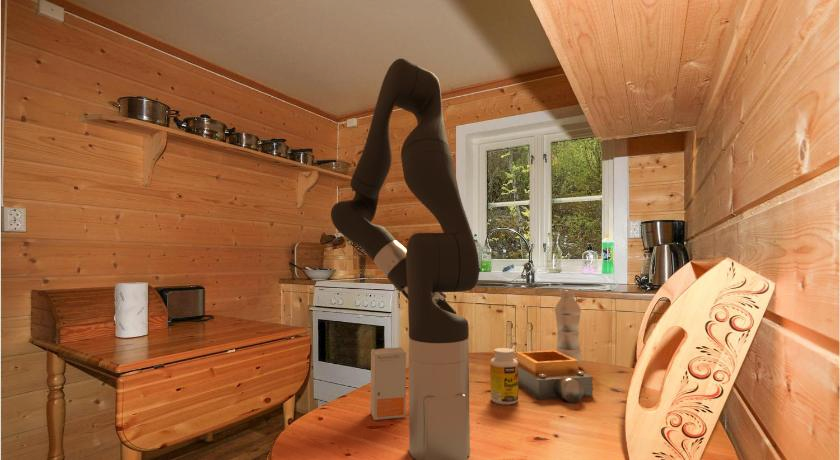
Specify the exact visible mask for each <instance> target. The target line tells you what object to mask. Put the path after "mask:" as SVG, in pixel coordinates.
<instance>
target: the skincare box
mask: <svg viewBox="0 0 840 460" xmlns="http://www.w3.org/2000/svg"><path fill="white" fill-rule="evenodd" d="M406 390H407V352H406V351H405V350H404V349H403V348H402V347H385V348H372V349H370V413H371V415H372V416H371V417H372V418H373V421H378V420H391V419H400V418H401V419H403V418H406V413H407V411H406V410H407V409H406V407H407V406H406V404H407V401H406V398H407V395H406V394H407V391H406Z"/></svg>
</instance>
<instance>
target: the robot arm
mask: <svg viewBox="0 0 840 460" xmlns="http://www.w3.org/2000/svg"><path fill="white" fill-rule="evenodd" d="M381 83H382V84H381V87H380V89H379V93H378V96H377V101H376V104H375V107H374V110H373V115H372V118H371V122H370V125H369V126H370V127H369V129H368V134H367V137H366V141H365V144H364V147H363V150H362V153H361V155H360V157H359V160H358V162H357V165H356V167H355V169H354V172H353V174H352V176H351V178H350V188H351V190H352V191H353V192H355V193H354V197H353V198H352V199H348V200H341V201H338V202H336V203H334V204H333V206H332V208H331V210H330V219H331V223H332V224H333V226H334V227H335V229H336V230H337V231H338V232H339V233H340V234H341V235H343V236H344V237H345V238H346V239H348V240H349V241H351V242H352V243H353V244H354V245H356V246H358V247H360V248H361V249H362V250H364V251H363V252H365V253H366V255H368V257H369V258H370V259H371V260H372V261H373V262H374V264H375V265H376V266H377V268H378V270H379V271H381V273H382V274H383V275H384V276H385V278H386V279H387V280H388V281H389V282H390V283H391V284H392V285H393V287H394V288H395V289H396V290H397V291H398V292H400V293H401V294H402V295H403V296H404V297H405V298H406V299H407V304H408V305H407V306H408V307H407V308H408V310H407V311H408V312H407V314H408V315H407V316H408V317H407V318H408V431H409V433H408V443H409V444H408V447H409V448H408V452H409V454H410V456H411V457H412V458H413V459H414V460H468V457H469V456H470V453H471V441H470V440H471V436H470V434H471V430H470V429H471V428H470V425H471V424H470V359H469V358H470V350H469V348H470V347H469V346H470V345H469V344H470V342H469V341H470V340H469V338H470V337H469V334H470V333H469V331H470V330H469V328H470V327H469V321H468V320H467V318H465V317H464V316H462V315H459V314H457V311H456V310H455V309H454V308H453V307H452V306H451V305H450V304H449V302H448V301H447V299H446V298H447V295H446V294H445V293H457V292H459V293H460V292H467V291H471V290H473V289H474V288H475V287H476V286H477V284H478V281H479V278H480V277H479V276H480V261H479V253H478V249H477V245H476V241H475V238H474V236H473V232H472V229H471V225H470V222H469V220H468V217H467V215H466V211H465V209H464V205H463V202H462V198H461V194H460V191H459V185H458V181H457V175H456V170H455V169H456V168H455V165H454V159H453V156H452V151H451V148H450V144H449V141H448V134H447V130H446V125H445V121H444V112H443V111H444V110H443V99H442V91H441V84H440V81H439V78H438V77H437V76H436V74H434V73H433V72H432V71H430V70H428V69H426V68H424V67H422V66H420V65H418V64H415V63H414V62H411V61H409V60H408V59H405V58H397V59H396V60H394V61H393V62H392V63H391V64H390V66H389V67H388V69H387V71H386V74H385V75H384V78H383V80H382V82H381ZM395 107H397V108H399V109H402V110H404V111H407V112H409V113H411V114H412V115H414V116H415V119H416V121H417V125H416V126H414V128H413V129H412V130H411V131H410V133H408V135H407V137H406V138H405V139H404V141H403V143H402V146H401V149H400V150H401V151H400V158H401V166H402V172H403V178H404V179H403V180H404V181H405V182H404V183H405V184H406V186H407V188H408V189H409V191H410V192H411V193H412V194H413V196H415V198H416V199H417V200H418V201H419V202H420V203H421V204H422V205H423V206H424V207H425V208H426V209H427V210H428V211H429V212H430V213H431V214H432V216H434V218H435V219H436V220H437V222H438V223H439V225H440V228H441V230H442V232H418V233H417V232H416V233H413V234H412V235H410V238H409V239H408V241H407V245H406V247H405V246H404V245H402V244H401V243H400V242H399V241H398V240H397V239H396V238H395V237H394V236H393V235H392V234H391V233H390V231H388V230H387V228H385V227H384V226H383V225H380V224H374V223H372V221H373V219H374V218H375V217H376V212H377V207H378V202H379V196H380V192H381V189H382V188H383V186H384V183H385V182H386V179H387V176H388V175H389V172H390V169H391V166H392V159H393V158H392V155H393V154H392V146H391V138H390V120H391V117H392V113H393V110H394V108H395Z"/></svg>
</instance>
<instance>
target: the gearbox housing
mask: <svg viewBox="0 0 840 460" xmlns="http://www.w3.org/2000/svg"><path fill="white" fill-rule="evenodd" d="M515 354H516V355H515V356H516V357H514V359H516V360H517V361H518V386H519V387H521V388H522V389H524V391H527V393H529V394H530V395H531V396H533V397H534V398H536V399H537V400H538V401H546V400H560V399H564V400H565V401H566V402H568V403H571V404H576V403H578V402H580V401H581V400H582V399H583V398H585V397H593V396H594V395H593V391H594V390H593V389H594V387H593V376H591V375H590V374H587V373H585V371H582V370H580V369H579V366H580V365H579V361H578V360H576V359H574V358H572V357H570V356H567V355H565V354H563V353H561V352H559V351H556V349H553V350H536V351H532V350H531V351H517V352H516V353H515Z"/></svg>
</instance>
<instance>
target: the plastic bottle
mask: <svg viewBox="0 0 840 460" xmlns="http://www.w3.org/2000/svg"><path fill="white" fill-rule="evenodd" d="M559 297H560V299H559V300H558V302H557V303H556V305H555V308H554V313H555V320H556V329H557V331H556V332H557V333H556V334H557V339H556V348H555V350H556V351H559V352H561V353H563V354H565V355H567V356H570V357H572V358H574V359H576V360H578V361H579V366H580V365H581V363H582V359H583V358H582V357H583V356H582V351H581V347H580V323H581V322H580V320H581V313H582V310H581V307H580V305H579V303H578V302H577V300H575V297H576V295H575V289H572V288H561V289H559Z"/></svg>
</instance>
